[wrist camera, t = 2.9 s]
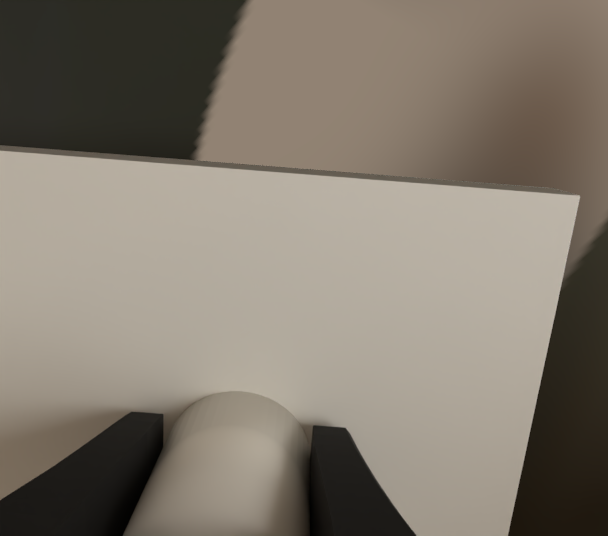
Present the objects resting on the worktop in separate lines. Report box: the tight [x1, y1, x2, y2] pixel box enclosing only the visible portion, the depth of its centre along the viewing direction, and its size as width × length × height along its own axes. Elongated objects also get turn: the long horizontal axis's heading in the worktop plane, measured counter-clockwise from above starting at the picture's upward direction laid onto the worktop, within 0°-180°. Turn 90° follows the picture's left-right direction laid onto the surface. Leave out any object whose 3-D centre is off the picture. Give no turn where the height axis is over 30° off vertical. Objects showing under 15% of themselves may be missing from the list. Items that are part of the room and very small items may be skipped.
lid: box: [0, 145, 580, 536], centre depth 9 cm, size 11×11×4 cm
